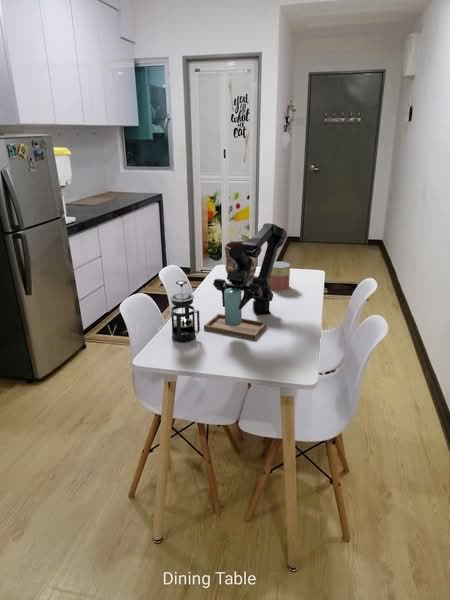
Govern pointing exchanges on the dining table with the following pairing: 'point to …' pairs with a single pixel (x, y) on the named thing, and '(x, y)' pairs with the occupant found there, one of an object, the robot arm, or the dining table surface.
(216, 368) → the dining table surface
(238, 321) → the tumbler
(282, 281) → the canned food
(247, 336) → the tray
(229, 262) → the pottery
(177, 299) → the french press
